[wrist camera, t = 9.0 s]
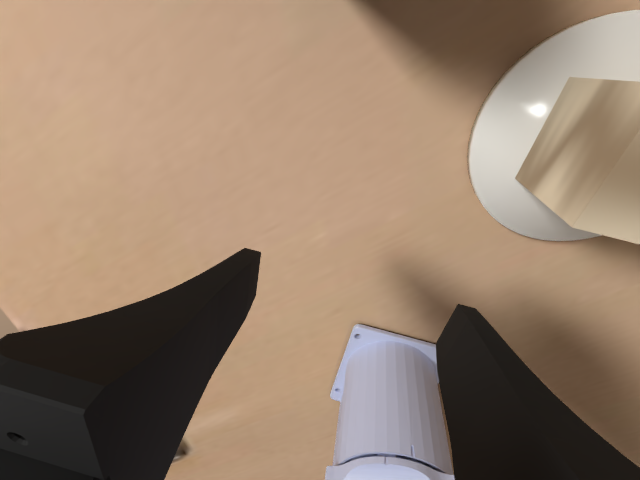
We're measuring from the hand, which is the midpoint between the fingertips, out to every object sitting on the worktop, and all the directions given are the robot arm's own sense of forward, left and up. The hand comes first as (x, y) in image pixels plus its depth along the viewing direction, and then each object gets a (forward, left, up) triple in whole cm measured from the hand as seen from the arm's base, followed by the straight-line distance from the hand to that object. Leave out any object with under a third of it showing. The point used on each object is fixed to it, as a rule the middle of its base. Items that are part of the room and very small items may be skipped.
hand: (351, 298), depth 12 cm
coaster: (+6, -10, -10) cm, 15 cm away
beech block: (+6, -10, -9) cm, 15 cm away
